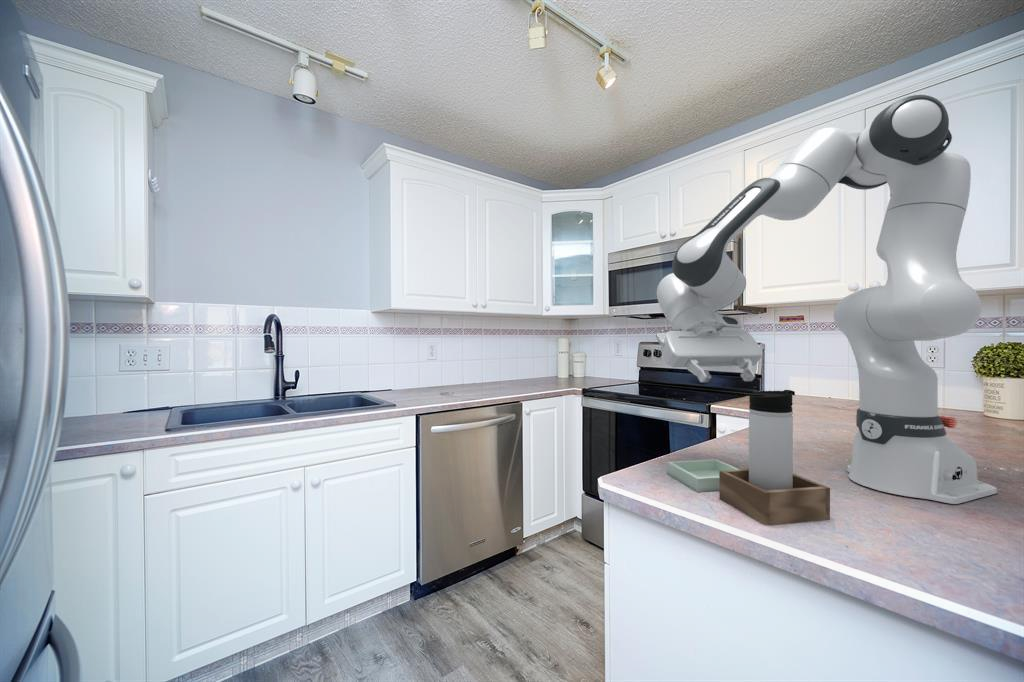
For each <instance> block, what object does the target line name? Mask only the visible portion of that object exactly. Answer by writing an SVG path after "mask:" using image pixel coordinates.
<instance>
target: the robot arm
mask: <svg viewBox="0 0 1024 682" xmlns="http://www.w3.org/2000/svg"><path fill="white" fill-rule="evenodd" d="M949 118H950V117H949V114H948V111H947V109H946V106H945V105H944V104H943V102H942V101H941V100H939V99H938V98H936V97H933V96H931V95H925V94H915V95H910V96H909V95H908V96H906V97H903V98H901V99H898V100H897V101H895V102H893V103H891V104H890V105H888V106H887V107H885V108H884V109H883V110H881V111H880V112H879V113H878V114H877V115H876V116H875V117H874V118H873V120H872V121H871V122H870V123H869V124H868V125H867V126H866V127H865V128H864V129H863V130H862V131H861V132H860V131H857V132H850V131H848V130H846V129H844V128H841V127H836V126H827V127H823V128H819V129H818V130H816V131H813V133H811V134H810V135H809V136H808V137H807V138H806V139H804V141H802V142H801V143H800V144H799V145H798V146H797V147H795V149H793V151H792V152H790V154H789V155H788V156H787V157H786V158H785V159H784V161H782V163H780V165H779V166H778V167H777V169H775V171H774V172H773V173H772V174H771V175H769V176H768V177H762V178H759V179H757V180H755V181H753V182H752V183H750V184H749V185H748V186H746V187H745V188H744V189H743V190H742V191H740V193H738V194H737V195H736V196H735V197H734V198H733V199H732V200H731V201H730V202H729V203H728V204H727V205H725V207H723V209H721V210H720V212H718V214H717V215H715V216H714V217H713V218H712V219H711V220H710V221H709V222H708V223H707V224H706V225H705V226H704V227H703V228H702V229H701V230H699V232H697V233H696V234H694V235H693V236H691V237H690V238H689V239H687V240H685V241H684V242H683V243H682V244H681V245H680V246H679V247H678V249H677V250H676V251H675V254H674V256H673V260H672V265H671V266H672V267H671V269H672V273H668V274H667V275H666V276H664V277H663V278H662V279H661V280H660V281H659V283H658V286H657V288H656V297H657V301H658V304H659V307H660V310H661V312H662V313H663V315H664V316H665V318H666V319H667V320H668V321H669V323H670V325H671V329H665V328H663V329H660V331H657V332H656V333H655V338H656V341H657V342H658V344H660V350H661V353H662V356H663V358H664V362H665V364H666V365H668V366H669V367H671V368H686V369H687V371H688V372H690V373H692V374H693V375H694V376H696V377H697V379H698V380H699V383H709V382H710V380H711V379H712V374H710V371H709V370H707V369H703V367H704V368H711V367H712V368H716V367H723V368H724V367H738V368H739V369H740V370H742V372H741V373H740V378H741V379H742V381H744V382H753V380H754V379H755V378H756V375H755V373H754V371H753V370H752V369H753V367H754V366H756V365H757V364H758V363H759V362H760V360H761V358H762V357H763V354H764V353H763V349H762V348H761V346H760V345H759V343H758V342H757V341H756V340H755V338H754V337H753V335H751V333H749V332H748V331H747V330H745V329H743V322H742V321H741V320H740V319H738V318H736V317H731V316H726V315H724V314H721V313H719V312H718V311H721V310H722V309H724V308H726V307H728V306H730V305H732V304H733V303H735V302H736V301H738V300H739V299H740V297H742V295H743V293H744V291H745V290H746V288H747V287H746V286H747V279H746V276H745V275H744V274H743V273H742V271H741V270H740V269H739V268H738V266H737V265H736V264H735V263H734V261H733V260H732V259H731V258H730V257H729V255H728V254H727V248H728V246H729V244H730V243H731V242H732V241H733V240H734V239H735V238H736V237H737V236H738V235H739V234H741V232H742V231H744V230H745V229H746V227H748V226H749V225H750V224H751V223H752V222H753V221H754V220H755V219H757V218H758V217H760V216H762V215H763V216H765V217H768V218H772V219H775V220H779V221H795V220H799V219H802V218H804V217H806V216H808V215H810V214H811V213H812V212H813V211H814V210H815V209H817V207H818V206H819V205H820V204H821V203H822V202H823V201H824V199H825V198H826V197H827V196H828V194H830V192H831V191H832V190H833V189H834V187H835V186H836V185H837V184H842V185H845V186H847V187H850V188H852V189H856V190H862V191H865V190H872V189H877V188H879V187H881V186H884V185H886V184H887V185H888V188H889V197H890V198H889V200H888V205H887V207H886V211H885V214H884V219H883V222H882V225H881V229H880V234H879V237H878V241H877V244H876V248H875V249H876V251H875V252H876V253H877V254H876V255H877V256H878V257H879V258H880V259H881V260H882V261H884V262H885V263H886V268H887V270H886V271H887V280H886V282H885V285H879V286H872V287H868V288H863V289H860V290H857V291H855V292H853V293H850V294H848V295H846V296H845V297H843V298H842V299H840V301H838V302H837V304H836V306H835V307H834V311H833V320H834V323H835V325H836V327H837V329H838V330H839V331H841V333H843V334H844V336H845V337H846V339H847V340H848V342H849V345H850V347H851V350H852V353H853V355H854V359H855V362H856V367H857V372H858V387H859V388H858V391H859V392H858V393H859V396H858V397H859V400H858V401H859V403H858V404H859V405H858V406H859V407H858V408H857V409H856V414H855V420H856V421H855V422H856V423H855V425H856V427H857V428H858V431H857V432H855V434H854V437H853V443H852V453H851V460H850V464H847V466H846V471H847V472H848V478H849V479H850V481H851V480H852V482H854V483H857V484H858V485H862V486H864V487H867V488H870V489H871V490H876V491H879V492H884V493H888V494H893V495H898V496H902V497H903V496H904V497H909V498H916V499H917V498H918V499H924V500H931V501H936V502H941V503H946V504H951V505H958V504H961V503H967V502H970V501H973V500H977V499H980V498H985V497H988V496H991V495H995V494H997V493H998V489H997V487H996V486H994V485H991V484H990V483H987V482H984V481H981V480H978V467H977V461H976V460H975V458H974V457H973V455H970V454H969V453H968V452H967V451H965V450H964V449H963V448H961V447H960V446H959V445H957V443H955V442H954V441H953V440H951V439H950V438H948V437H947V436H946V435H947V432H946V429H945V427H946V428H948V429H955V428H956V426H957V425H958V420H956V417H950V416H949V417H947V416H945V415H941V416H939V413H938V412H939V411H938V408H939V407H938V406H939V404H938V403H939V401H938V391H939V390H938V387H939V386H938V385H939V384H938V382H939V381H938V380H939V379H938V375H937V372H936V371H935V370H934V369H933V367H931V366H930V365H929V364H927V363H926V362H925V361H924V359H923V358H922V357H921V356H920V353H919V351H918V348H917V346H916V343H915V341H916V342H917V341H920V342H921V341H922V342H923V341H924V342H925V341H927V342H929V341H930V342H931V341H935V340H941V339H946V338H951V337H955V336H960V335H962V334H964V333H966V332H968V331H969V330H971V329H972V328H973V327H974V326H975V325H976V324H977V322H978V321H979V320H980V317H981V313H982V302H981V298H980V296H979V294H978V293H977V292H976V290H975V289H974V288H973V287H972V286H970V285H969V284H968V283H966V282H965V281H964V280H963V279H962V277H961V275H960V273H959V272H960V271H959V268H958V263H957V251H958V245H959V241H960V240H959V239H960V236H961V232H962V227H963V225H964V224H963V223H964V219H965V215H966V214H967V213H966V212H967V207H968V203H969V197H970V192H971V191H970V190H971V179H972V178H971V175H972V173H971V164H970V162H969V161H968V159H967V158H965V157H964V156H963V155H961V154H957V153H951V152H947V151H946V150H947V149H948V147H949V146H950V144H951V142H952V140H953V136H952V133H951V131H950V129H949V127H950V126H949V125H950V120H949ZM946 141H947V142H946ZM945 151H946V152H945Z"/></svg>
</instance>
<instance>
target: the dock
mask: <svg viewBox="0 0 1024 682" xmlns="http://www.w3.org/2000/svg"><path fill="white" fill-rule="evenodd" d="M739 469H740V468H737V467H735V466H733V465H731V464H728V463H726V462H724V461H722V460H720V459H718V458H711V459H710V458H709V459H693V460H678V461H677V460H676V461H667V462H666V475H669V476H670V477H672V478H673V479H675V480H676V481H678V482H680V483H681V482H682V483H681V484H683V485H685V486H686V485H687V487H688V486H689V487H688V488H690V489H691V488H692V490H693V491H695V492H696V491H697V493H705V492H718V491H719V471H724V470H739Z"/></svg>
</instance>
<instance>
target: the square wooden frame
mask: <svg viewBox="0 0 1024 682" xmlns="http://www.w3.org/2000/svg"><path fill="white" fill-rule="evenodd" d="M738 469H739V470H724V471H719V492H718V493H719V497H718V498H719V500H721V501H723V502H725V503H727V504H728V505H730V506H731V507H733V508H735V509H737V510H738V511H740V512H742V513H743V514H745V515H747V516H749V517H751V518H752V519H754V520H756V521H757V522H759V523H761V524H762V525H764V526H771V525H772V526H773V525H783V524H785V525H786V524H793V523H794V524H795V523H804V522H805V523H807V522H815V521H816V522H817V521H825V520H831V487H829V486H826V485H823V484H820V483H819V482H815V481H814V480H811V479H808V478H806V477H803V476H800V475H797V474H795V473H793V489H781V490H768V491H766V490H764V489H761V488H759V487H757V486H755V485H753V484H751V483H749V468H741V469H740V468H738Z"/></svg>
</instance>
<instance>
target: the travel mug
mask: <svg viewBox="0 0 1024 682" xmlns="http://www.w3.org/2000/svg"><path fill="white" fill-rule="evenodd" d="M793 396H796V392H795V390H791V389H784V390H764V391H763V390H762V391H756V392H751V393H750V394H749V397H748V399H749V401H748V403H749V404H748V405H749V406H748V407H749V408H748V411H749V412H748V469H749V483H751V484H753V485H755V486H757V487H759V488H761V489H764V490H766V491H768V490H781V489H793V474H794V471H793V470H794V469H793V467H794V459H793V457H794V456H793V454H794V452H793V451H794V443H793V442H794V441H793V440H794V439H793V437H794V434H793V433H794V432H793V431H794V428H793V427H794V426H793V425H794V424H793V423H794V416H793V414H794V413H793V407H792V406H793Z"/></svg>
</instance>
